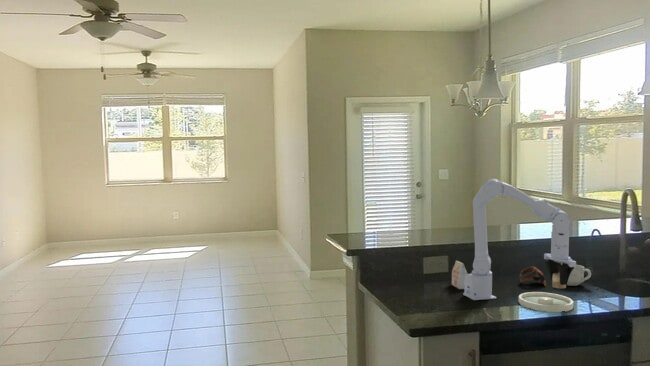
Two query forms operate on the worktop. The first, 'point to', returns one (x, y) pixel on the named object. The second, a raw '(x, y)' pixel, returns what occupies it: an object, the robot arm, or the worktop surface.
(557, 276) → the maple bead
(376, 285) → the worktop surface
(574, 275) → the teacup
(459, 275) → the white rectangular block
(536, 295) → the groove tray
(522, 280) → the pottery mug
